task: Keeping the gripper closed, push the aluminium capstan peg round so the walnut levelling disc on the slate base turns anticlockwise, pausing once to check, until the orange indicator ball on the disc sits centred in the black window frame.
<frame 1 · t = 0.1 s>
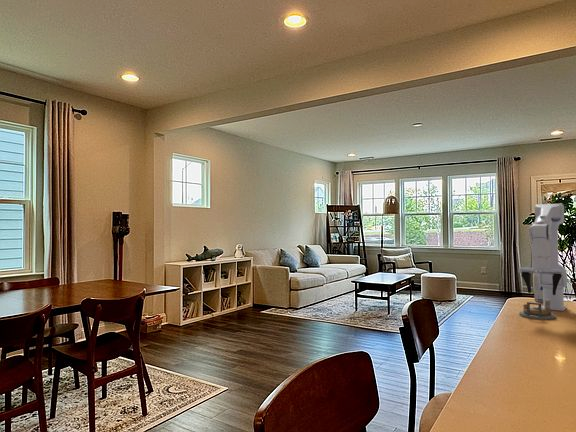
hand: (541, 293, 150), 10 cm above the counter, tool pointing down, fingers open, 7 cm apart
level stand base: (537, 316, 158), on the counter
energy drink: (541, 301, 188), on the counter
capstan disc: (536, 306, 158), point 4 cm above the counter, hinge at 0.0°
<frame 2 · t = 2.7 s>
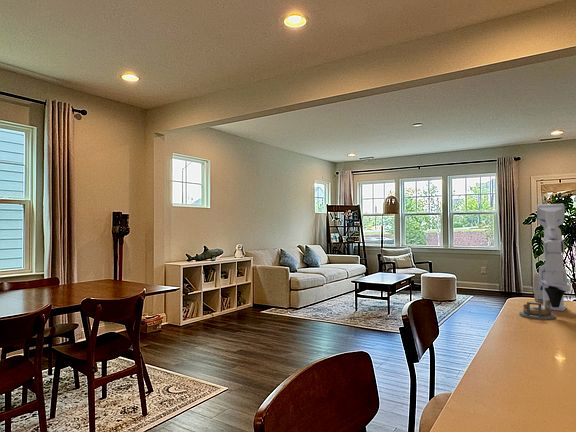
hand: (555, 307, 155), 4 cm above the counter, tool pointing down, fingers closed, pressing on capstan disc
capstan disc: (536, 306, 158), point 4 cm above the counter, hinge at 0.0°, touching gripper
everything else where it was.
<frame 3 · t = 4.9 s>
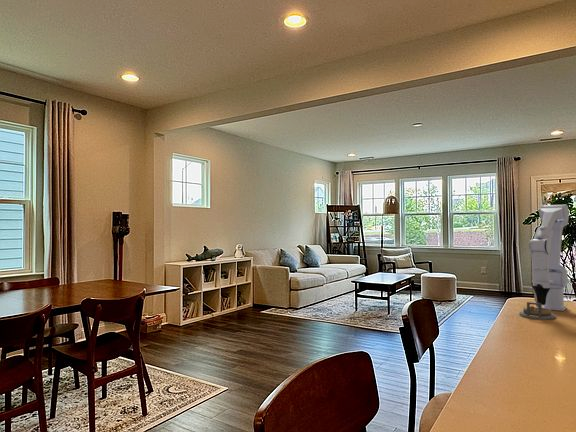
hand: (541, 304, 159), 4 cm above the counter, tool pointing down, fingers closed, pressing on capstan disc
capstan disc: (536, 306, 158), point 4 cm above the counter, hinge at 60.1°, touching gripper
everything else where it was.
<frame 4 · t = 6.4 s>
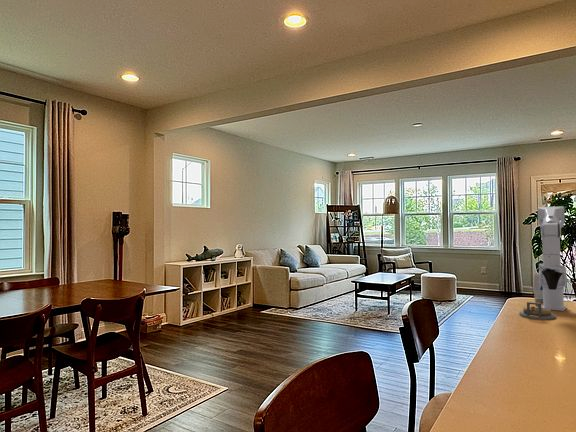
hand: (552, 289, 157), 10 cm above the counter, tool pointing down, fingers closed
capstan disc: (536, 306, 158), point 4 cm above the counter, hinge at 64.2°
everything else where it was.
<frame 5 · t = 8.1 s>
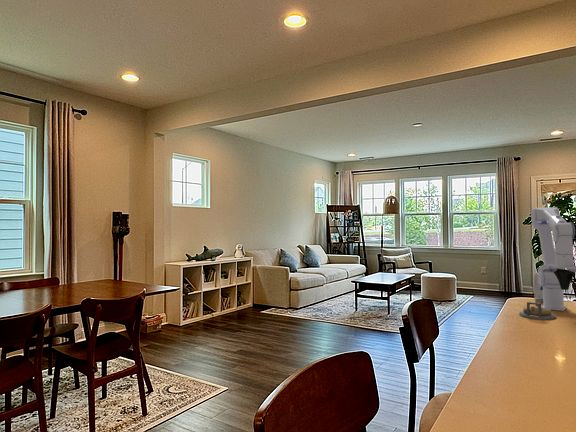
hand: (564, 289, 156), 10 cm above the counter, tool pointing down, fingers closed
nothing on the counter moved.
at the end: capstan disc at +64° (first picture: +0°) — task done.
